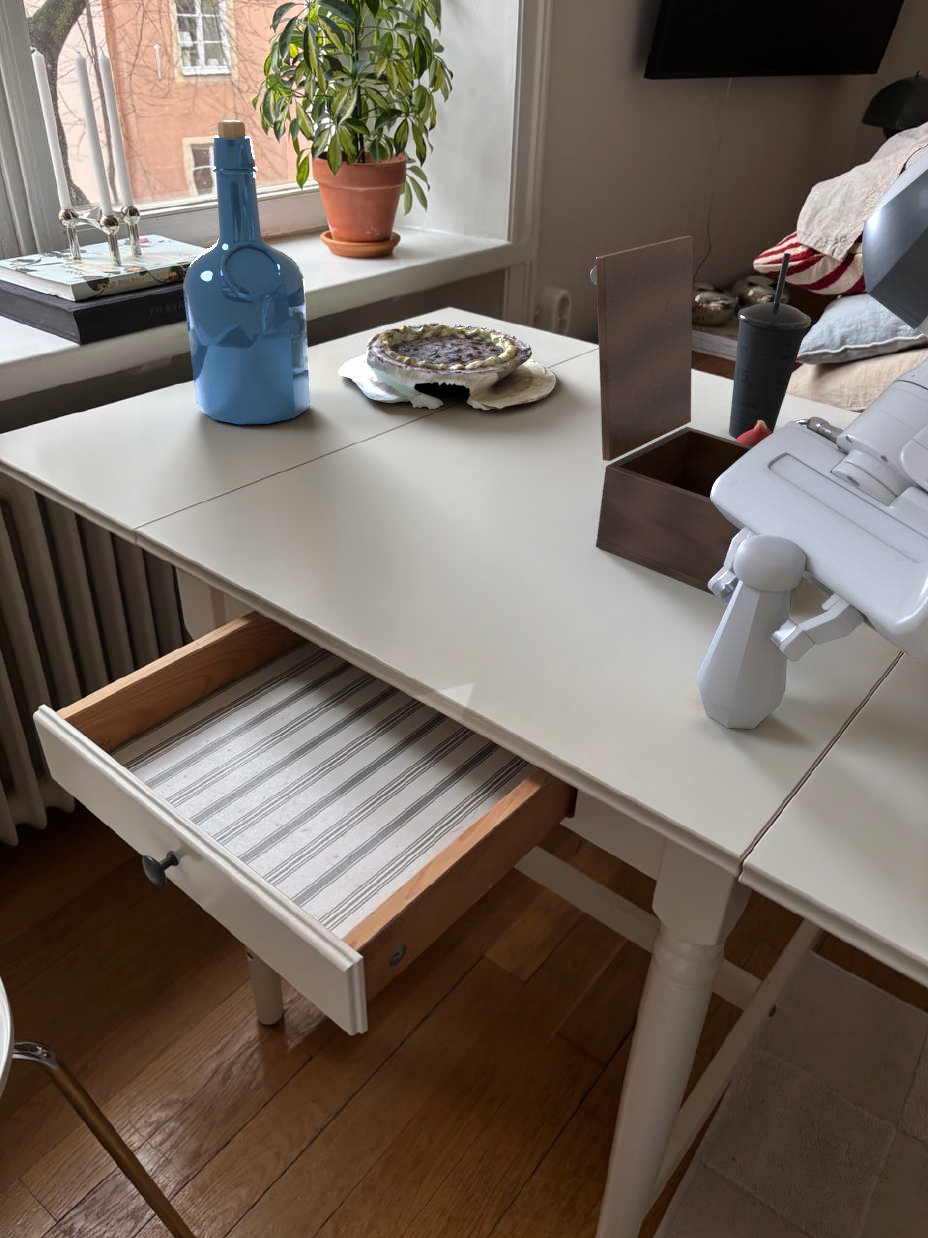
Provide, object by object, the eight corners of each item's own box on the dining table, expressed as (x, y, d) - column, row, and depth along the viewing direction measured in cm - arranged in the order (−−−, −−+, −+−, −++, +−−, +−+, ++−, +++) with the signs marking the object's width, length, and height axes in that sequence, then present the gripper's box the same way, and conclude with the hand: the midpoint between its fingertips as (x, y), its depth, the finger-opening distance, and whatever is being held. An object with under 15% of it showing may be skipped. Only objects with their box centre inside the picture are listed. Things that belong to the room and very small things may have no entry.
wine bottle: (188, 395, 115) (153, 114, 99) (296, 384, 120) (279, 114, 104) (209, 436, 104) (174, 128, 88) (327, 422, 109) (314, 128, 93)
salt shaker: (689, 728, 64) (724, 559, 57) (692, 680, 69) (725, 518, 62) (779, 744, 63) (825, 573, 56) (776, 694, 68) (819, 530, 61)
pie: (317, 355, 130) (316, 318, 127) (500, 339, 139) (502, 305, 137) (384, 428, 108) (383, 385, 106) (594, 403, 118) (599, 363, 115)
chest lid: (693, 235, 83) (649, 236, 86) (604, 256, 74) (558, 257, 77) (691, 421, 90) (650, 417, 93) (610, 461, 81) (567, 455, 84)
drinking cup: (742, 418, 115) (777, 243, 105) (797, 437, 110) (839, 256, 100) (702, 431, 111) (735, 250, 100) (757, 452, 106) (797, 264, 95)
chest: (824, 554, 86) (846, 474, 82) (754, 611, 77) (774, 524, 73) (674, 501, 95) (686, 426, 90) (595, 546, 86) (605, 465, 82)
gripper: (784, 380, 66) (641, 526, 68) (1026, 504, 50) (830, 690, 52) (821, 435, 70) (685, 571, 72) (1058, 566, 54) (873, 737, 56)
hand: (747, 622), depth 62 cm, fingers open, 5 cm apart
